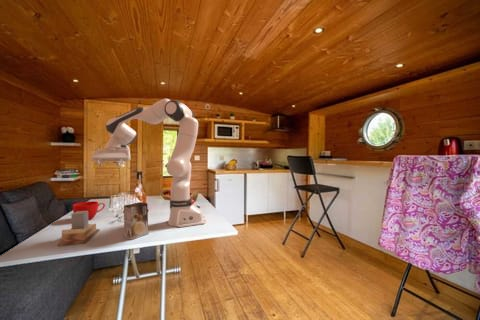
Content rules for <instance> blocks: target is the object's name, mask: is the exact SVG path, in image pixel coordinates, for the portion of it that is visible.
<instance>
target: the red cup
mask: <svg viewBox="0 0 480 320" xmlns="http://www.w3.org/2000/svg"><path fill="white" fill-rule="evenodd" d="M100 205H103V206H102V208H100V209H98V208H99V206H100ZM105 206H106V205H105V203H104V202H100V203H99V202H98V201H96V200H95V201H81V202H77V203H74V204H73V205H72V211H73V213H75V212H77V211H88V221H90V220H93V219H94V218H95V216H96V215H97V213H99V212H101V211H103V209H105ZM73 213H72V214H73Z"/></svg>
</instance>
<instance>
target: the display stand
mask: <svg viewBox="0 0 480 320" xmlns="http://www.w3.org/2000/svg"><path fill="white" fill-rule="evenodd" d="M88 224H89V227H87V228H80V229H72V227H71V228H69V229H67V228H66V229H62V230H61V240H60V241H59V242H58V243H57V247H62V246H63V247H64V246H75V245H83V244H87V243H89V242H90V240H92V239H93V238H94V237H95V236H96V235H97V234H99V232H100V228H97V223H88Z"/></svg>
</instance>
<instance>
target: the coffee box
mask: <svg viewBox="0 0 480 320" xmlns="http://www.w3.org/2000/svg"><path fill="white" fill-rule="evenodd" d="M148 206H149V205H148V203H147V202H142V201H140V202H135V203H130V204H125V205H123V223H124V225H123V226H124V229H123V230H124V235H123V236H124V238H125V239H129V240H131V241H133V240H135V239H138V238H141V237H144V236H146V235H149V218H148V217H149V215H148V214H149V212H148V211H149V209H148Z"/></svg>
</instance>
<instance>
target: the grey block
mask: <svg viewBox="0 0 480 320" xmlns="http://www.w3.org/2000/svg"><path fill="white" fill-rule="evenodd" d="M70 216H71V217H70V218H71V219H70V220H71V228H72V229H80V228H87V227H89V224H90V223H89V220H88V211H77V212H75V213H71V215H70Z"/></svg>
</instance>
